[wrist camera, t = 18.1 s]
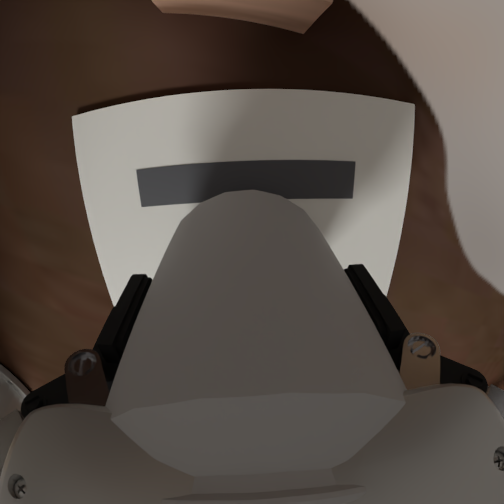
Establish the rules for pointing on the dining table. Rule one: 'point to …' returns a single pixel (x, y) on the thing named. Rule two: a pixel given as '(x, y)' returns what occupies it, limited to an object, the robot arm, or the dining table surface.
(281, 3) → the brown block
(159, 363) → the can
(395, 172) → the letter card
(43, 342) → the dining table surface
